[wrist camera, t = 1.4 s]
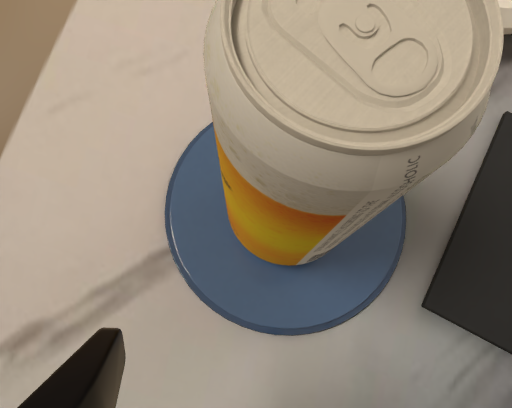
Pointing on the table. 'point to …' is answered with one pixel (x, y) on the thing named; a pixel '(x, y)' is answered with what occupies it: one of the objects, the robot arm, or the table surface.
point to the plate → (266, 273)
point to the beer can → (339, 109)
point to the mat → (481, 252)
